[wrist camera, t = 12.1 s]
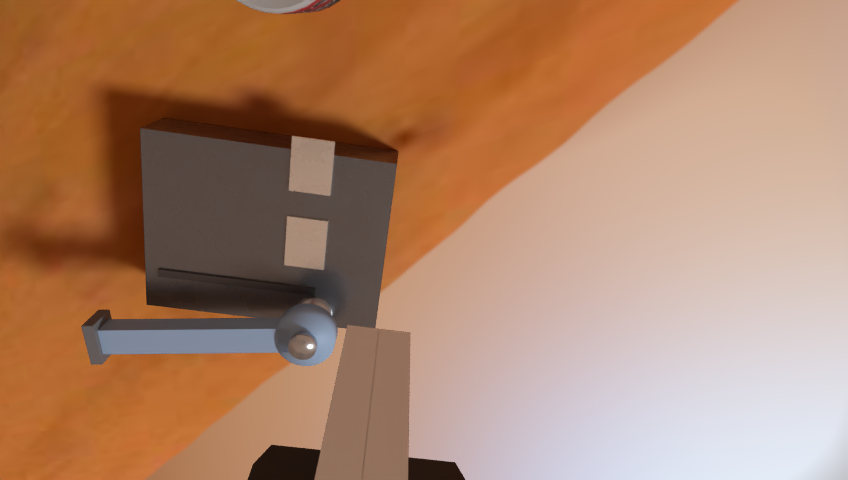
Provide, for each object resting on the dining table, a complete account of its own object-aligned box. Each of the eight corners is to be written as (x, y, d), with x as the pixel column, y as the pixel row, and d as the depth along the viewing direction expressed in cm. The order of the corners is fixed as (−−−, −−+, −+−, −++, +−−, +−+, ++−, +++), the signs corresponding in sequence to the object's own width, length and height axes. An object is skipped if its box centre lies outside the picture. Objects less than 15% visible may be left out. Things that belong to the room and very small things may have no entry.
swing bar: (336, 300, 43) (331, 316, 41) (339, 350, 44) (335, 368, 42) (96, 302, 43) (79, 318, 40) (109, 353, 44) (92, 371, 42)
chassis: (167, 287, 49) (116, 344, 40) (163, 104, 43) (102, 127, 35) (377, 312, 50) (369, 373, 42) (400, 138, 44) (396, 168, 36)
